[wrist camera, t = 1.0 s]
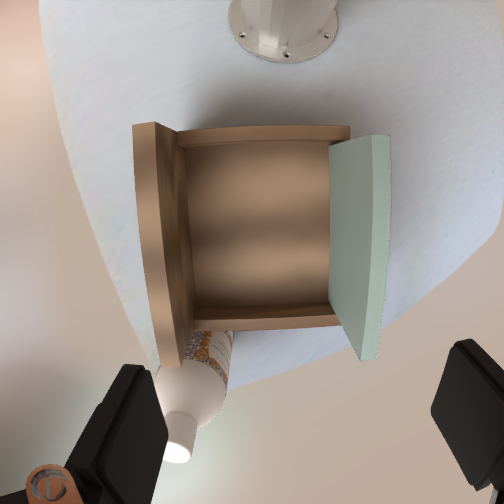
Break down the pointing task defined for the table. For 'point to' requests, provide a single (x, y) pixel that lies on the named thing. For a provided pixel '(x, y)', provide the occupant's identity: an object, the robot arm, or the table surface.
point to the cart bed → (234, 228)
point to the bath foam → (193, 390)
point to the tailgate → (360, 237)
